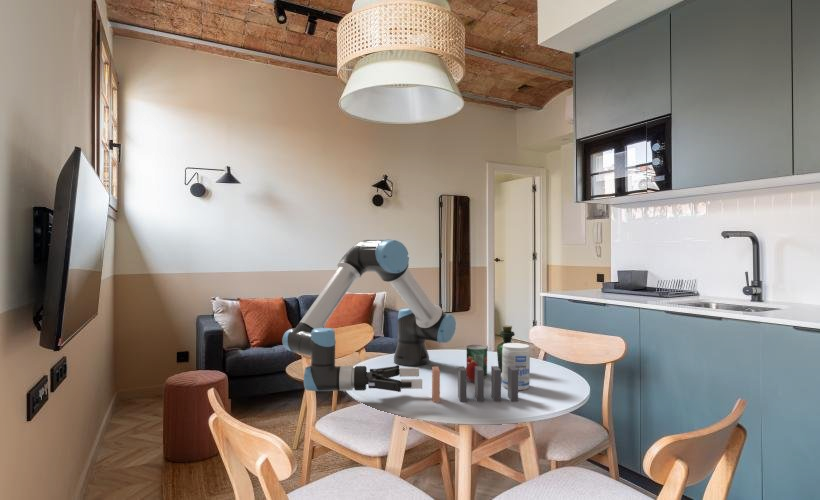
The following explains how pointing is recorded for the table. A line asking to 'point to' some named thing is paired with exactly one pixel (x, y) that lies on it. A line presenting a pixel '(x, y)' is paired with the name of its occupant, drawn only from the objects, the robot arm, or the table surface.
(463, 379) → the domino
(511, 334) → the potion bottle
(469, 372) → the onion
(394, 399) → the table surface
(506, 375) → the supplement tub
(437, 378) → the orange domino
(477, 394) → the domino
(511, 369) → the domino
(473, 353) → the canned tomato
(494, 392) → the domino
